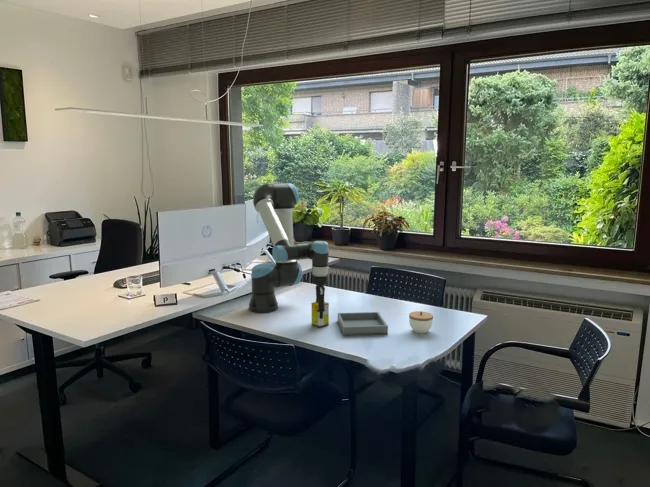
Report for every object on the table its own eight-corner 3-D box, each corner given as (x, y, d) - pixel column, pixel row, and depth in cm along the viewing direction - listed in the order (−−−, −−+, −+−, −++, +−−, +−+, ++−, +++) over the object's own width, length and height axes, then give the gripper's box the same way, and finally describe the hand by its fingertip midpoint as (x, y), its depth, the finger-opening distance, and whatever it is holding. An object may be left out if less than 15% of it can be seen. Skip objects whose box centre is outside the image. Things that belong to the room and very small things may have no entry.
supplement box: (320, 322, 235) (320, 300, 233) (329, 325, 231) (329, 302, 229) (311, 325, 231) (311, 302, 229) (319, 328, 227) (319, 305, 225)
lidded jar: (427, 336, 217) (428, 316, 215) (404, 332, 222) (405, 312, 221) (435, 329, 226) (436, 310, 224) (413, 325, 231) (414, 306, 230)
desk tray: (337, 321, 237) (337, 313, 236) (378, 319, 239) (378, 311, 238) (343, 335, 217) (343, 327, 217) (387, 334, 219) (387, 325, 219)
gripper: (330, 280, 217) (330, 329, 221) (325, 269, 237) (325, 314, 241) (314, 280, 216) (313, 329, 220) (310, 269, 237) (310, 314, 241)
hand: (320, 321), depth 231 cm, fingers closed on supplement box, 8 cm apart
